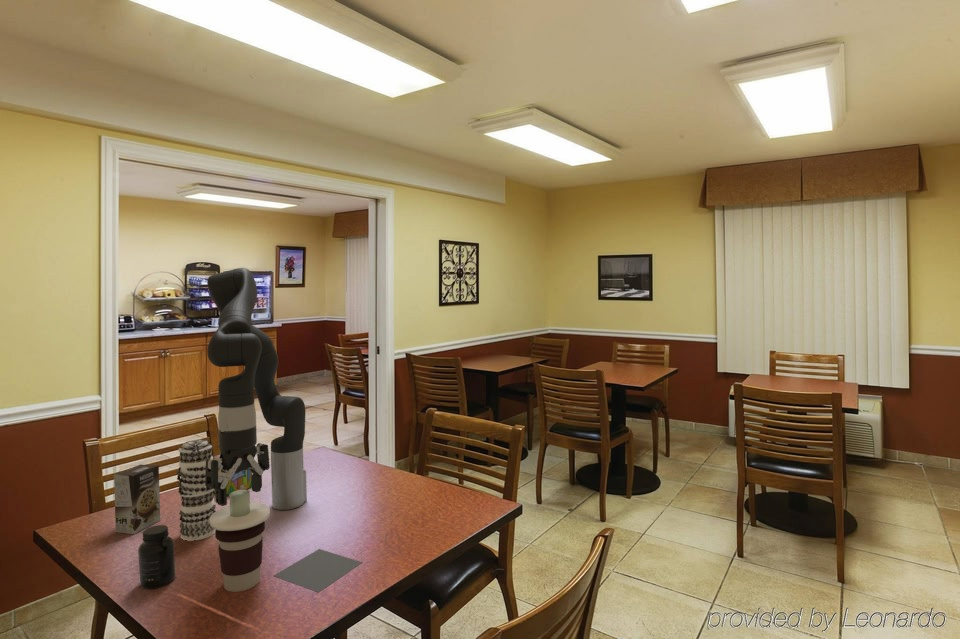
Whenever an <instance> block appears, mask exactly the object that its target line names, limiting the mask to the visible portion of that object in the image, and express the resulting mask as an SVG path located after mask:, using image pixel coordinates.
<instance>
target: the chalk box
mask: <svg viewBox="0 0 960 639" xmlns="http://www.w3.org/2000/svg"><path fill="white" fill-rule="evenodd" d="M212 457H213V459H216V458H219V457H220V454H218V455H215V456H212ZM221 466H222V465H221V464H220V468H221ZM220 468H218V471H219V470H220ZM225 473H228V471H227V470H226V471H225ZM251 475H253V473H252V472H251V471H250V470H249V469H247V470H242V471H240V472H238V473H234V475H233V477H232V478H231V479H230V480H229V481H228V483H227V485H226V487H225V488H227V496H228V497H230V493H232V492H234V491H237V490H248V489H250V488H251V489H252V484H251ZM213 493H215V489H214V490H213Z"/></svg>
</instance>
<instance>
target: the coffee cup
mask: <svg viewBox="0 0 960 639" xmlns="http://www.w3.org/2000/svg"><path fill="white" fill-rule="evenodd" d="M265 529H266V520H265V521H264V522H262V523H260V524H258V525H256V526H253V527H250V528H246V529H241V530H235V531H220V530H215V533H214V535H215V539H216V540H217V541H218V554H219V555H218V556H219V563H220V565H219V566H220V570H221V573H222V580H223V581H222V582H223V588H224V590H226V591H228V592H233V593H235V592H243V591H246V590H249V589H252V588H254V587H255V586H257V584H258V583H260V581H261V566H262V563H263V562H262V561H263V546H264V545H263V544H264V543H263V542H264V541H263V540H264V539H263V532H264V531H265Z"/></svg>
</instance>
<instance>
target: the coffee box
mask: <svg viewBox="0 0 960 639" xmlns="http://www.w3.org/2000/svg"><path fill="white" fill-rule="evenodd" d="M113 484H114V485H113V487H114V488H113V489H114V490H113V491H114V521H115V526H114V527H115V532H116V533H121V534H122V533H123V534H131V535H135V534H138V533H139V532H141V531H144V530H146V529H147V528H150V527H152V525H154V524H157V523H158V522H160V521H161V499H160V498H161V495H160V492H161V491H160V466H159V465H157V464H139V465H135V466H133V467H131V468H128V469H124V470H122V471H119V472H116V473H114V474H113Z"/></svg>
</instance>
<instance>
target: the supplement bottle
mask: <svg viewBox="0 0 960 639" xmlns="http://www.w3.org/2000/svg"><path fill="white" fill-rule="evenodd" d="M142 531H143V532H142V543H141V544H139V546H138V550H137V551H138V552H137V554H138V568H139V570H138V571H139V584H140V586H141V587H142V588H143V589H145V590H151V589H152V590H153V589H157V588H161V587H165V586H166V585H168V584H170V583H171V582H172V581H173V580H174V579H175V577H176V557H175V543H174V539H173V538H172V537H170V536H169V527H168V526H167V525H166V524H165V525H164V524H157V525H154V526H149V527H147V528H145V529H143V530H142Z"/></svg>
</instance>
